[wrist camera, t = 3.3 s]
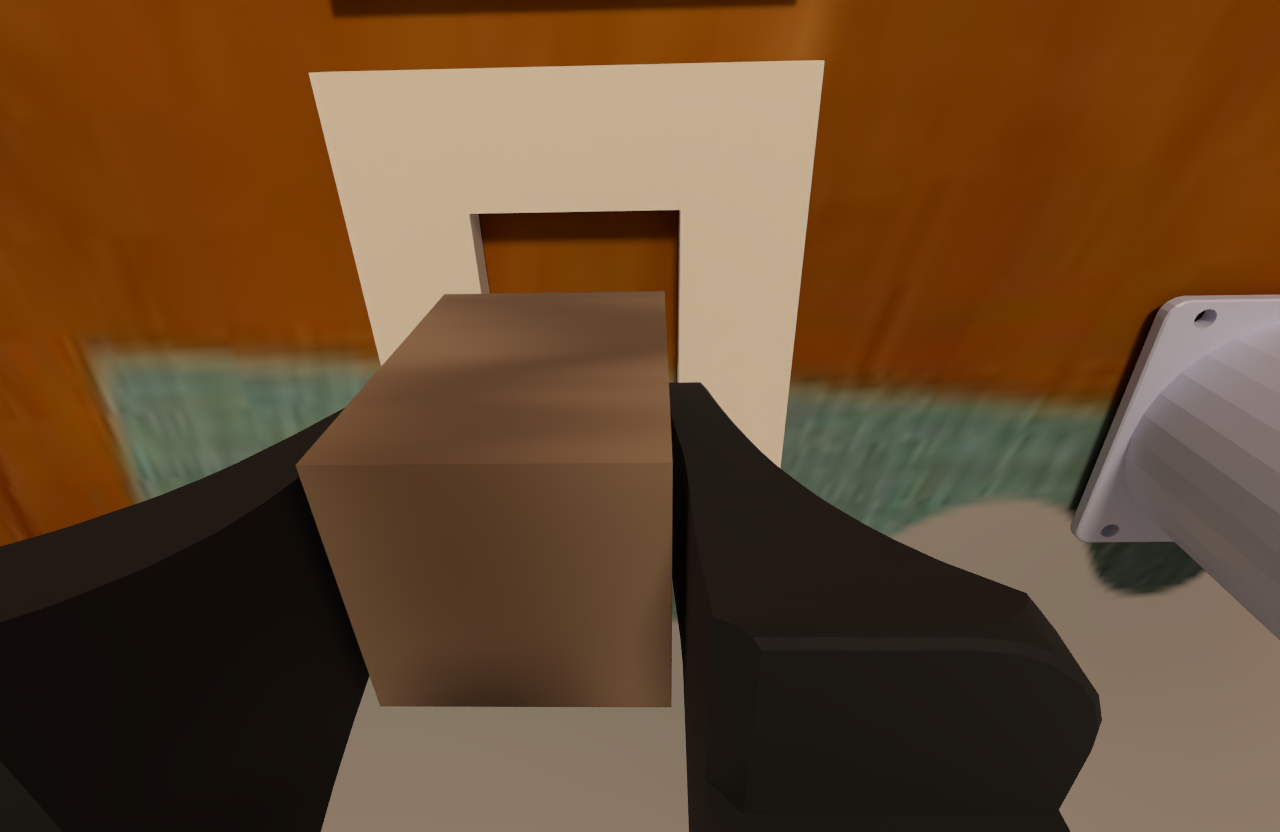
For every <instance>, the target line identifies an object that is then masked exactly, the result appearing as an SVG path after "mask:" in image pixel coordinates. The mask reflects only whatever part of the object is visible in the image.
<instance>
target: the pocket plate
mask: <svg viewBox="0 0 1280 832" xmlns="http://www.w3.org/2000/svg"><path fill="white" fill-rule="evenodd" d="M823 71H824V61H822V60H805V61H763V62H721V63H678V64H636V65H594V66H552V67H510V68H468V69H426V70H383V71H341V72H314V73H309V77H310V81H311V85H312V89H313V93H314V97H315V101H316V105H317V109H318V113H319V117H320V121H321V125H322V129H323V133H324V137H325V141H326V145H327V149H328V153H329V157H330V161H331V166H332V170H333V174H334V178H335V182H336V186H337V190H338V194H339V198H340V202H341V206H342V210H343V214H344V218H345V222H346V226H347V230H348V234H349V238H350V242H351V246H352V250H353V254H354V258H355V262H356V266H357V270H358V274H359V278H360V283H361V287H362V291H363V295H364V299H365V303H366V307H367V311H368V315H369V319H370V323H371V327H372V331H373V335H374V339H375V343H376V347H377V351H378V355H379V359H380V363H381V366H382V365H383V364H384V363H385V362H386V361H387V360H388V358H389V357H390V356H391V355H392V354H393V353H394V351H395V350H396V349H397V348H398V347H399V346H400V345H401V343H402V342H403V341H404V340H405V339H406V338H407V337H408V335H409V334H410V333H411V332H412V331H413V330H414V328H415V327H416V326H417V325H418V324H419V323H420V322H421V320H422V319H423V318H424V317H425V316H426V315H427V314H428V312H429V311H430V310H431V309H432V308H433V307H434V306H435V304H436V303H437V302H438V301H439V300H440V299H441V297H442V296H443V295H444V294H490V292H489V285H488V278H487V271H486V264H485V257H484V250H483V243H482V236H481V229H480V223H479V216H478V214H487V213H541V212H596V211H650V210H679V259H678V364H677V383H689V382H701V383H702V384H703V385H704V386H705V388H706V389H707V390H708V391H709V393H710V394H711V395H712V397H713V398H714V399H715V401H716V402H717V403H718V405H719V406H720V407H721V408H722V410H723V411H724V412H725V413H726V414H727V416H728V417H729V418H730V419H731V420H732V421H733V423H734V424H735V425H736V426H737V427H738V428H739V429H740V430H741V431H742V432H743V433H744V435H745V436H746V437H747V438H748V439H749V440H750V441H751V442H752V443H753V444H754V445H755V446H756V447H757V448H758V449H759V450H760V451H761V452H762V453H763V454H764V455H765V456H767V457H768V458H769V459H770V460H771V461H772V462H773V463H774V464H776V465H777V466H778V467H779V468H780V467H781V458H782V449H783V439H784V430H785V421H786V412H787V403H788V393H789V384H790V375H791V366H792V356H793V347H794V338H795V329H796V320H797V310H798V301H799V292H800V283H801V273H802V264H803V255H804V246H805V237H806V227H807V218H808V209H809V200H810V191H811V181H812V172H813V163H814V154H815V144H816V135H817V126H818V117H819V108H820V98H821V89H822V80H823Z"/></svg>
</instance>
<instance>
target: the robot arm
mask: <svg viewBox="0 0 1280 832" xmlns="http://www.w3.org/2000/svg"><path fill="white" fill-rule="evenodd" d="M1204 310H1205V313H1204V315H1203V316H1202V317H1201V318H1200V319H1199V320H1197V321H1196V322H1194V321H1195V318H1196V317H1197V315H1198V314H1199V313H1201V312H1202V311H1204ZM669 396H670V417H671V438H672V459H673V489H672V581H673V588H674V595H675V602H676V610H677V617H678V624H679V631H680V638H681V649H682V660H683V677H684V704H685V728H686V730H685V731H686V755H687V756H686V757H687V784H688V785H687V786H688V814H689V832H1070V830H1069V828H1068V827H1067V825H1066V823H1065V821H1064V819H1063V817H1062V816H1061V814H1060V812H1059V808H1060V806H1061V805H1062V803H1063V801H1064V799H1065V797H1066V796H1067V793H1068V792H1069V790H1070V788H1071V786H1072V785H1073V783H1074V781H1075V779H1076V777H1077V776H1078V774H1079V772H1080V770H1081V768H1082V767H1083V765H1084V763H1085V761H1086V759H1087V758H1088V756H1089V754H1090V752H1091V750H1092V747H1093V745H1094V742H1095V739H1096V736H1097V733H1098V730H1099V727H1100V724H1101V721H1102V717H1101V709H1100V701H1099V694H1098V693H1097V692H1096V690H1095V689H1094V687H1093V686H1092V684H1091V683H1090V681H1089V680H1088V678H1087V677H1086V675H1085V674H1084V672H1083V671H1082V669H1081V668H1080V666H1079V665H1078V663H1077V662H1076V660H1075V659H1074V657H1073V656H1072V654H1071V653H1070V651H1069V650H1068V648H1067V647H1066V645H1065V644H1064V642H1063V641H1062V639H1061V637H1060V636H1059V635H1058V633H1057V632H1056V630H1055V629H1054V628H1053V626H1052V625H1051V624H1050V622H1049V621H1048V620H1047V619H1046V618H1045V616H1044V615H1043V614H1042V612H1041V611H1040V610H1039V608H1038V607H1037V606H1036V605H1035V603H1034V602H1033V601H1032V600H1031V599H1030V597H1029V596H1028V595H1027V593H1024V592H1022V591H1019V590H1016V589H1013V588H1011V587H1008V586H1006V585H1003V584H1000V583H998V582H995V581H992V580H989V579H987V578H984V577H982V576H979V575H976V574H974V573H971V572H968V571H965V570H963V569H960V568H957V567H955V566H952V565H949V564H947V563H944V562H942V561H939V560H937V559H935V558H933V557H930V556H928V555H926V554H924V553H921V552H919V551H917V550H915V549H913V548H911V547H909V546H906V545H904V544H902V543H900V542H898V541H896V540H893V539H892V538H890V537H888V536H886V535H884V534H882V533H880V532H878V531H876V530H874V529H872V528H870V527H868V526H866V525H865V524H863V523H861V522H859V521H858V520H856V519H854V518H853V517H851V516H849V515H847V514H846V513H844V512H842V511H841V510H839V509H837V508H835V507H834V506H832V505H831V504H829V503H827V502H826V501H824V500H823V499H821V498H820V497H818V496H817V495H815V494H814V493H812V492H811V491H810V490H808V489H807V488H806V487H804V486H803V485H801V484H800V483H799V482H797V481H796V480H795V479H793V478H792V477H790V476H789V475H788V474H787V473H785V472H784V471H783V470H782V469H780V468H779V467H778V466H777V465H776V464H774V463H773V462H772V461H771V460H770V459H769V458H768V457H767V456H765V455H764V454H763V453H762V452H761V451H760V450H759V449H758V448H757V447H756V446H755V445H754V444H753V443H752V442H751V441H750V440H749V439H748V438H747V437H746V436H745V435H744V433H743V432H742V431H741V430H740V429H739V428H738V427H737V426H736V425H735V424H734V423H733V421H732V420H731V419H730V418H729V417H728V416H727V414H726V413H725V412H724V411H723V410H722V408H721V407H720V406H719V405H718V403H717V402H716V401H715V399H714V398H713V397H712V395H711V394H710V393H709V391H708V390H707V389H706V388H705V386H704V385H703V384H702V383H701V382H689V383H669ZM345 408H346V407H345ZM345 408H344V409H345ZM344 409H342V410H340V411H338V412H336V413H334V414H332V415H330V416H329V417H327V418H325V419H323V420H321V421H319V422H317V423H316V424H314V425H312V426H310V427H308V428H306V429H304V430H302V431H301V432H299V433H297V434H295V435H293V436H291V437H289V438H287V439H285V440H283V441H281V442H279V443H277V444H275V445H273V446H271V447H269V448H267V449H265V450H263V451H261V452H259V453H257V454H255V455H253V456H251V457H249V458H246V459H244V460H242V461H240V462H238V463H236V464H234V465H232V466H230V467H228V468H225V469H223V470H221V471H219V472H216V473H214V474H212V475H209V476H207V477H205V478H203V479H200V480H198V481H195V482H193V483H190V484H188V485H185V486H183V487H180V488H178V489H175V490H173V491H170V492H168V493H165V494H163V495H160V496H158V497H155V498H152V499H150V500H147V501H144V502H141V503H138V504H135V505H132V506H129V507H126V508H123V509H120V510H117V511H114V512H111V513H108V514H105V515H102V516H99V517H97V518H94V519H91V520H88V521H85V522H82V523H79V524H76V525H73V526H70V527H67V528H63V529H60V530H57V531H54V532H50V533H47V534H43V535H40V536H36V537H33V538H29V539H26V540H22V541H19V542H15V543H12V544H8V545H4V546H1V547H0V832H321V828H322V825H323V822H324V818H325V814H326V811H327V807H328V803H329V800H330V796H331V793H332V790H333V786H334V783H335V780H336V776H337V773H338V770H339V767H340V763H341V760H342V757H343V754H344V751H345V748H346V744H347V741H348V738H349V735H350V731H351V728H352V725H353V722H354V719H355V716H356V713H357V710H358V707H359V704H360V702H361V699H362V696H363V693H364V690H365V687H366V684H367V681H368V678H369V673H368V670H367V667H366V664H365V661H364V658H363V656H362V653H361V650H360V647H359V644H358V641H357V639H356V636H355V633H354V630H353V627H352V624H351V622H350V619H349V616H348V613H347V610H346V607H345V604H344V602H343V599H342V596H341V593H340V590H339V587H338V585H337V582H336V579H335V576H334V573H333V570H332V568H331V565H330V562H329V559H328V556H327V553H326V551H325V548H324V545H323V542H322V539H321V536H320V533H319V531H318V528H317V525H316V522H315V519H314V516H313V514H312V511H311V508H310V505H309V502H308V499H307V497H306V494H305V491H304V488H303V485H302V482H301V480H300V477H299V474H298V471H297V468H296V464H297V463H298V462H299V461H300V459H301V458H302V457H303V456H304V455H305V454H306V453H307V451H308V450H309V449H310V448H311V447H312V446H313V445H314V443H315V442H316V441H317V440H318V439H319V438H320V437H321V435H322V434H323V433H324V432H325V431H326V430H327V428H328V427H329V426H330V425H331V424H332V423H333V422H334V420H335V419H336V418H337V417H338V416H339V415H340V414H341V412H342V411H343V410H344ZM1108 525H1109V526H1108ZM1106 526H1107V527H1106ZM1104 527H1106V528H1104ZM1071 531H1072V533H1073V534H1074V535H1075V536H1076V537H1077V538H1078V539H1079V540H1081V541H1083V542H1175V543H1176V544H1177V545H1178V546H1179V547H1181V548H1182V549H1183V550H1184V551H1185V552H1186V553H1187V554H1188V555H1189V556H1190V557H1191V558H1192V559H1193V560H1194V561H1196V562H1197V563H1198V564H1199V565H1200V566H1201V567H1202V568H1203V569H1204V570H1205V571H1206V572H1207V573H1208V574H1209V575H1211V576H1212V577H1213V578H1214V579H1215V580H1216V581H1217V582H1218V583H1219V584H1220V585H1221V586H1222V587H1223V588H1225V589H1226V590H1227V591H1228V592H1229V593H1230V594H1231V595H1232V596H1233V597H1234V598H1235V599H1236V600H1237V601H1238V602H1240V603H1241V604H1242V605H1243V606H1244V607H1245V608H1246V609H1247V610H1248V611H1249V612H1250V613H1251V614H1252V615H1254V617H1256V618H1257V619H1258V620H1259V621H1260V622H1261V623H1262V624H1263V625H1264V626H1265V627H1266V628H1267V629H1268V630H1270V631H1271V632H1272V633H1273V634H1274V635H1275V636H1276V637H1277V638H1278V639H1279V640H1280V295H1218V296H1181V297H1176V298H1174V299H1172V300H1170V301H1168V302H1166V303H1165V304H1164V305H1163V306H1162V307H1161V308H1160V310H1159V311H1158V313H1157V314H1156V317H1155V319H1154V322H1153V324H1152V327H1151V329H1150V331H1149V334H1148V336H1147V339H1146V341H1145V344H1144V346H1143V349H1142V351H1141V354H1140V356H1139V358H1138V361H1137V363H1136V366H1135V368H1134V371H1133V373H1132V376H1131V378H1130V381H1129V383H1128V385H1127V388H1126V390H1125V393H1124V395H1123V398H1122V400H1121V403H1120V405H1119V408H1118V410H1117V413H1116V415H1115V417H1114V420H1113V422H1112V425H1111V427H1110V430H1109V432H1108V435H1107V437H1106V440H1105V442H1104V444H1103V447H1102V449H1101V452H1100V454H1099V457H1098V459H1097V462H1096V464H1095V467H1094V469H1093V471H1092V474H1091V476H1090V479H1089V481H1088V484H1087V486H1086V489H1085V491H1084V494H1083V496H1082V498H1081V501H1080V503H1079V506H1078V508H1077V511H1076V513H1075V516H1074V518H1073V521H1072V523H1071Z"/></svg>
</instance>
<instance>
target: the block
mask: <svg viewBox="0 0 1280 832" xmlns="http://www.w3.org/2000/svg"><path fill="white" fill-rule="evenodd" d="M296 468H297V471H298V474H299V477H300V480H301V482H302V485H303V488H304V491H305V494H306V497H307V499H308V502H309V505H310V508H311V511H312V514H313V516H314V519H315V522H316V525H317V528H318V531H319V533H320V536H321V539H322V542H323V545H324V548H325V551H326V553H327V556H328V559H329V562H330V565H331V568H332V570H333V573H334V576H335V579H336V582H337V585H338V587H339V590H340V593H341V596H342V599H343V602H344V604H345V607H346V610H347V613H348V616H349V619H350V622H351V624H352V627H353V630H354V633H355V636H356V639H357V641H358V644H359V647H360V650H361V653H362V656H363V658H364V661H365V664H366V667H367V670H368V673H369V675H370V678H371V681H372V684H373V687H374V690H375V692H376V695H377V698H378V701H379V704H380V706H476V707H477V706H479V707H480V706H484V707H487V706H491V707H671V666H672V665H671V663H672V662H671V661H672V657H671V655H672V646H671V645H672V489H673V459H672V438H671V417H670V396H669V375H668V354H667V332H666V311H665V291H640V292H570V293H500V294H444V295H443V296H442V297H441V299H440V300H439V301H438V302H437V303H436V304H435V306H434V307H433V308H432V309H431V310H430V311H429V312H428V314H427V315H426V316H425V317H424V318H423V319H422V320H421V322H420V323H419V324H418V325H417V326H416V327H415V328H414V330H413V331H412V332H411V333H410V334H409V335H408V337H407V338H406V339H405V340H404V341H403V342H402V343H401V345H400V346H399V347H398V348H397V349H396V350H395V351H394V353H393V354H392V355H391V356H390V357H389V358H388V360H387V361H386V362H385V363H384V364H383V365H382V366H381V368H380V369H379V370H378V371H377V372H376V373H375V374H374V376H373V377H372V378H371V379H370V380H369V381H368V383H367V384H366V385H365V386H364V387H363V388H362V389H361V391H360V392H359V393H358V394H357V395H356V396H355V397H354V399H353V400H352V401H351V402H350V403H349V404H348V405H347V407H346V408H345V409H344V410H343V411H342V412H341V414H340V415H339V416H338V417H337V418H336V419H335V420H334V422H333V423H332V424H331V425H330V426H329V427H328V428H327V430H326V431H325V432H324V433H323V434H322V435H321V437H320V438H319V439H318V440H317V441H316V442H315V443H314V445H313V446H312V447H311V448H310V449H309V450H308V451H307V453H306V454H305V455H304V456H303V457H302V458H301V459H300V461H299V462H298V463H297V464H296Z"/></svg>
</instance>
